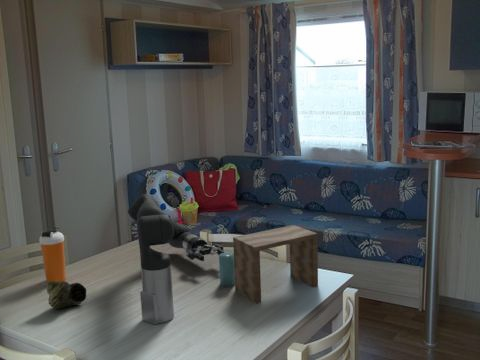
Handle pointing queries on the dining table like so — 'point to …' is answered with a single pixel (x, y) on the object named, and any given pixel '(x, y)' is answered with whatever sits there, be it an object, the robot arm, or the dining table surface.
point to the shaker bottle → (53, 254)
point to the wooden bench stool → (251, 244)
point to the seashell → (65, 294)
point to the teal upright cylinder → (227, 269)
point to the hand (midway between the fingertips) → (213, 256)
